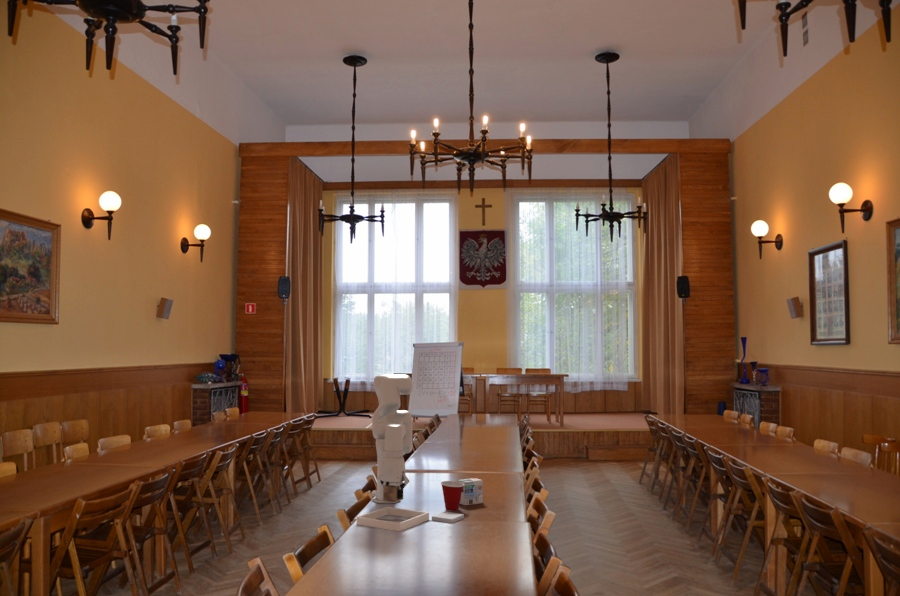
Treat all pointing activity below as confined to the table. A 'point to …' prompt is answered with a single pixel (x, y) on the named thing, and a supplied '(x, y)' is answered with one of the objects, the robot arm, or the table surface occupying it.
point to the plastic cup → (452, 494)
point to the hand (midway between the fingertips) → (393, 497)
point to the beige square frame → (371, 521)
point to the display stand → (448, 517)
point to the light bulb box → (471, 491)
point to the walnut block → (390, 493)
